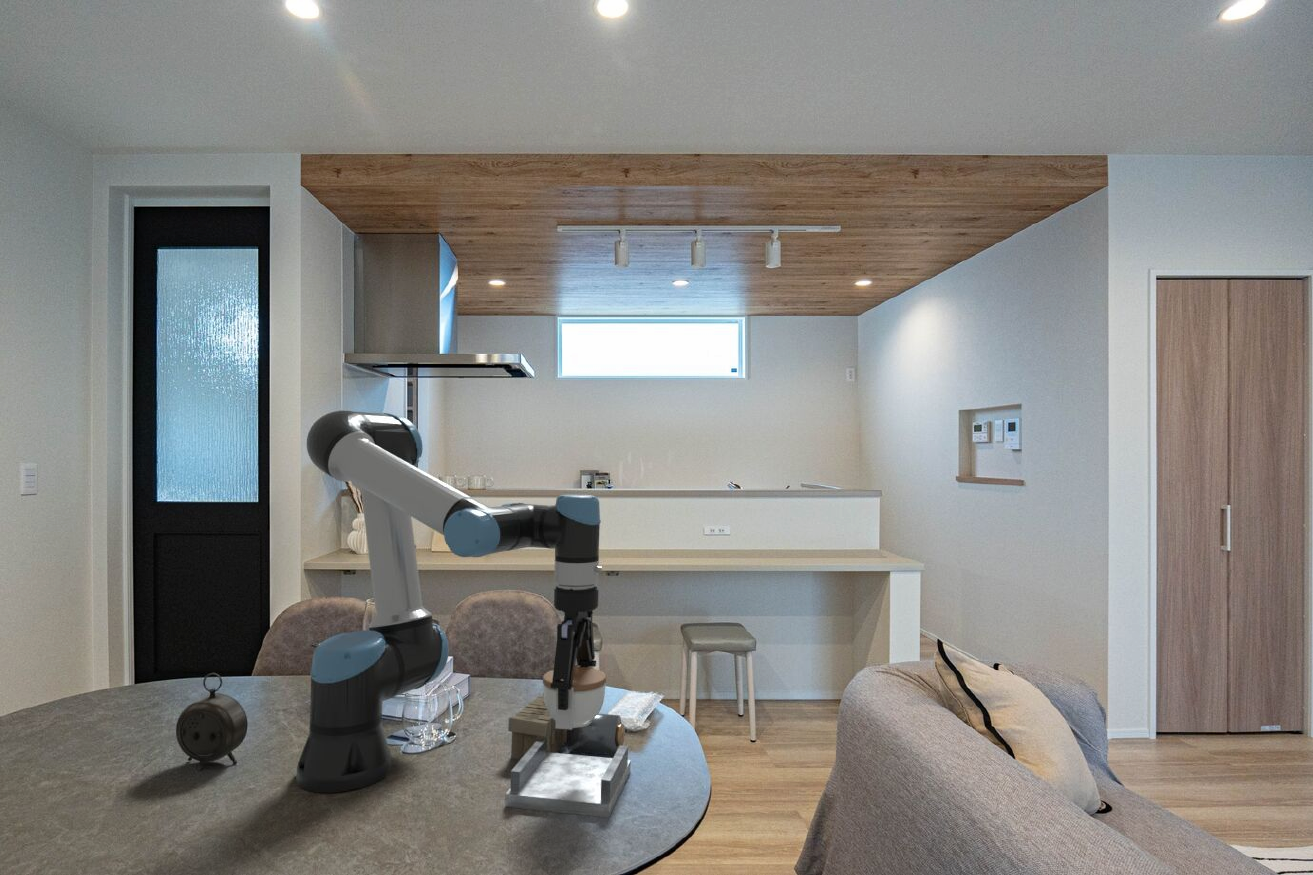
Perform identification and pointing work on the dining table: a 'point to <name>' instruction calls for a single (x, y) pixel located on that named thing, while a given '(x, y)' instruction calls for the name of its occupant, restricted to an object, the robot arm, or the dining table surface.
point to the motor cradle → (574, 772)
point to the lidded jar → (579, 694)
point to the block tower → (534, 729)
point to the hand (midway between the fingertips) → (573, 715)
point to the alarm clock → (211, 727)
